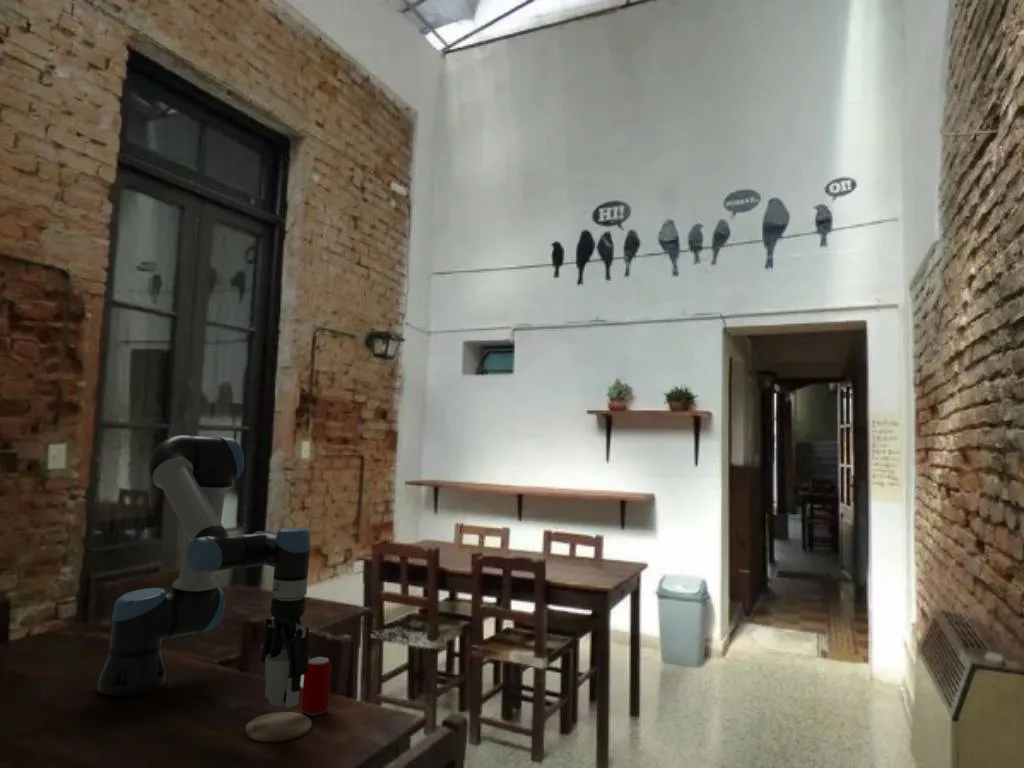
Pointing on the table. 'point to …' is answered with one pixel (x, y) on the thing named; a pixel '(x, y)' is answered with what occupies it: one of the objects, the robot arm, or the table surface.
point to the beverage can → (316, 687)
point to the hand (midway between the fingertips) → (281, 700)
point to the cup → (277, 678)
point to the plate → (278, 727)
